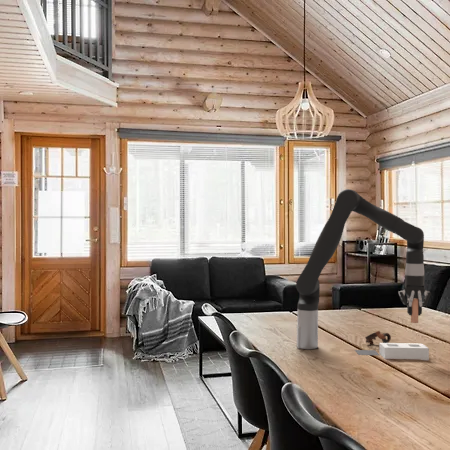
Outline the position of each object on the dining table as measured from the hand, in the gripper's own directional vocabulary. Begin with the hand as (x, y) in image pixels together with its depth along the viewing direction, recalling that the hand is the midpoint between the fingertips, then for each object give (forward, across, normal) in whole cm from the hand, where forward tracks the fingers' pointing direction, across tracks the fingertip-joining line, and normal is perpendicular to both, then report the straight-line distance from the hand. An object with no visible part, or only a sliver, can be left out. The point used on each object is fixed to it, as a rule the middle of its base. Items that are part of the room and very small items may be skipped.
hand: (414, 315), depth 229 cm
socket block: (+18, -4, 0) cm, 18 cm away
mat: (+18, -18, +6) cm, 26 cm away
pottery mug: (+18, -10, +20) cm, 29 cm away
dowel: (+3, 0, 0) cm, 3 cm away
